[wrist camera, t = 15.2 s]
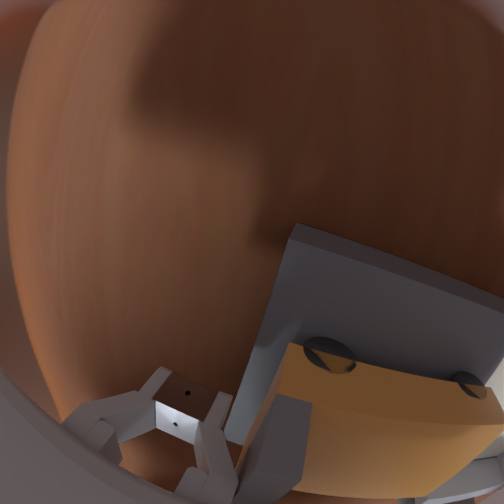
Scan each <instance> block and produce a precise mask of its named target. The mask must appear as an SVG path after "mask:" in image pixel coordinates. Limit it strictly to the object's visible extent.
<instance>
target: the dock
mask: <svg viewBox="0 0 504 504" xmlns="http://www.w3.org/2000/svg"><path fill="white" fill-rule="evenodd" d="M312 337H327V338H331V339H334V340H336V341H338V342H340V343H342V344H344V345H345V346H346V347H348V348H349V349H350V350H351V351H352V352H353V354H354V355H355V357H356V361H357V362H361V363H365V364H369V365H373V366H377V367H381V368H386V369H390V370H395V371H399V372H404V373H408V374H413V375H418V376H423V377H428V378H433V379H439V380H445V381H450V382H451V381H452V380H453V378H454V377H455V375H456V374H457V373H458V372H459V371H466V372H469V373H471V374H473V375H475V376H476V377H477V378H479V379H480V380H481V382H482V383H483V384H484V386H485V387H491V388H492V390H493V392H494V394H495V396H496V397H497V399H498V401H499V403H500V405H501V407H502V409H503V411H504V299H503V298H500V297H498V296H496V295H493V294H491V293H489V292H486V291H484V290H482V289H479V288H477V287H474V286H472V285H470V284H467V283H465V282H462V281H460V280H457V279H455V278H452V277H450V276H447V275H445V274H442V273H440V272H437V271H434V270H432V269H429V268H427V267H424V266H421V265H419V264H416V263H413V262H411V261H408V260H405V259H403V258H400V257H397V256H394V255H392V254H389V253H386V252H383V251H380V250H378V249H375V248H372V247H369V246H366V245H363V244H360V243H358V242H355V241H352V240H349V239H346V238H343V237H340V236H337V235H334V234H331V233H328V232H325V231H322V230H319V229H315V228H312V227H309V226H306V225H303V224H300V223H297V222H296V224H295V226H294V228H293V230H292V232H291V234H290V236H289V238H288V241H287V245H286V248H285V251H284V255H283V258H282V261H281V264H280V268H279V271H278V274H277V277H276V280H275V283H274V287H273V290H272V293H271V296H270V299H269V302H268V305H267V308H266V312H265V315H264V318H263V321H262V324H261V327H260V330H259V333H258V336H257V339H256V342H255V345H254V348H253V351H252V353H251V356H250V359H249V362H248V365H247V368H246V371H245V374H244V377H243V379H242V382H241V385H240V388H239V391H238V394H237V396H236V399H235V402H234V405H233V407H232V410H231V413H230V416H229V418H228V421H227V424H226V426H225V429H224V432H223V434H224V437H225V440H227V441H230V442H233V443H236V444H239V445H242V446H243V445H244V443H245V440H246V437H247V434H248V432H249V430H250V428H251V426H252V424H253V422H254V420H255V418H256V416H257V414H258V411H259V409H260V407H261V405H262V403H263V401H264V399H265V397H266V394H267V392H268V390H269V388H270V386H271V383H272V381H273V379H274V377H275V374H276V372H277V370H278V368H279V365H280V363H281V361H282V358H283V356H284V353H285V351H286V349H287V346H288V344H289V342H291V343H294V344H297V345H301V346H303V345H304V343H305V342H306V341H307V340H308V339H310V338H312ZM503 487H504V431H503V432H502V433H501V434H500V435H499V436H498V437H497V438H496V439H495V440H494V441H493V442H492V443H491V444H490V445H489V446H488V447H487V448H486V449H485V450H484V451H482V452H481V453H480V454H479V455H478V456H477V457H476V458H475V459H474V460H472V461H471V462H470V463H469V464H468V465H467V466H465V467H464V468H463V469H462V470H461V471H459V472H458V473H457V474H456V475H454V476H453V477H452V478H450V479H449V480H448V481H446V482H445V483H444V484H442V485H441V486H439V487H438V488H437V489H435V490H434V491H432V492H431V493H429V494H428V495H426V496H425V497H415V504H444V503H450V502H455V501H460V500H464V499H468V498H472V497H476V496H480V495H484V494H487V493H490V492H494V491H497V490H500V489H502V488H503Z"/></svg>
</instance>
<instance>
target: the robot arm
mask: <svg viewBox="0 0 504 504" xmlns="http://www.w3.org/2000/svg"><path fill="white" fill-rule="evenodd" d="M232 398H233V396H232V395H229V394H226V393H224V392H221V391H219V390H216V389H213V388H211V387H208V386H206V385H203V384H200V383H198V382H194V381H192V380H190V379H188V378H186V377H184V376H181V375H179V374H177V373H175V372H173V371H171V370H169V369H167V368H164V367H162V366H161V367H159V368H158V369H157V370H156V371H155V372H154V374H153V375H152V376H151V377H150V378H149V380H148V381H147V382H146V383H145V384H144V386H143V387H142V388H141V389H140V390H139V391H138V392H137V391H135V390H134V391H130V392H127V393H123V394H119V395H115V396H112V397H108V398H104V399H99V400H95V401H91V402H86V403H82V404H80V405H79V406H78V407H77V408H76V409H75V410H74V411H73V412H72V413H71V414H70V415H69V416H68V417H67V418H66V419H65V420H64V421H63V422H62V423H61V424H59V423H58V422H57V421H56V420H55V419H53V418H52V417H51V416H50V415H49V414H48V413H46V412H45V411H44V410H43V409H42V408H41V407H40V406H38V405H37V403H36V402H34V401H33V400H32V399H31V398H30V397H29V396H28V395H27V394H26V393H25V392H24V391H23V390H22V389H21V388H20V387H19V386H18V385H17V383H15V381H14V380H13V379H12V378H11V377H10V376H9V375H8V374H7V373H6V371H5V370H4V369H3V368H2V367H1V366H0V504H231V502H232V499H233V496H234V494H235V491H236V488H237V486H238V483H239V481H238V478H237V475H236V472H235V469H234V466H233V463H232V460H231V457H230V453H229V450H228V447H227V444H226V440H225V437H224V434H223V430H222V429H221V428H222V426H223V424H224V421H225V418H226V416H227V413H228V410H229V407H230V404H231V401H232ZM155 428H158V429H160V430H162V431H164V432H166V433H169V434H171V435H173V436H175V437H177V438H180V439H182V440H184V441H186V442H188V443H191V444H193V445H194V452H195V457H196V463H197V468H195V467H193V466H192V467H189V468H187V470H186V472H185V473H184V475H183V477H182V479H181V481H180V482H179V484H178V486H177V488H176V490H175V491H174V493H172V492H170V491H168V490H165V489H163V488H161V487H159V486H157V485H155V484H153V483H151V482H149V481H147V480H145V479H143V478H141V477H139V476H137V475H135V474H133V473H132V472H130V471H128V470H126V469H124V468H123V467H121V466H119V463H120V462H121V461H122V459H123V458H122V455H121V451H120V448H119V444H120V443H123V442H125V441H127V440H130V439H132V438H135V437H137V436H139V435H142V434H144V433H146V432H148V431H151V430H153V429H155Z"/></svg>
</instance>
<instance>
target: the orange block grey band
mask: <svg viewBox="0 0 504 504" xmlns="http://www.w3.org/2000/svg"><path fill="white" fill-rule="evenodd" d="M503 431H504V411H503V409H502V407H501V405H500V403H499V401H498V399H497V397H496V396H495V394H494V392H493V390H492V388H491V387H485V386H484V384H483V383H482V382H481V380H480V379H479V378H477V377H476V376H475V375H473V374H471V373H469V372H466V371H459V372H458V373H457V374H456V375H455V377H454V378H453V380H452V381H451V382H450V381H445V380H439V379H433V378H428V377H423V376H418V375H413V374H408V373H404V372H399V371H395V370H390V369H386V368H381V367H377V366H373V365H369V364H365V363H361V362H357V361H356V357H355V355H354V354H353V352H352V351H351V350H350V349H349V348H348V347H346V346H345V345H344V344H342V343H340V342H338V341H336V340H334V339H331V338H327V337H312V338H310V339H308V340H307V341H306V342H305V343H304V345H303V346H301V345H297V344H294V343H291V342H289V344H288V346H287V349H286V351H285V353H284V356H283V358H282V361H281V363H280V365H279V368H278V370H277V372H276V374H275V377H274V379H273V381H272V383H271V386H270V388H269V390H268V392H267V394H266V397H265V399H264V401H263V403H262V405H261V407H260V409H259V411H258V414H257V416H256V418H255V420H254V422H253V424H252V426H251V428H250V430H249V432H248V434H247V437H246V440H245V443H244V445H243V448H242V451H241V454H240V456H239V459H238V462H237V465H236V467H235V472H236V475H237V478H238V481H239V483H238V486H237V488H236V491H235V494H234V496H233V499H232V502H231V504H274V503H275V502H277V501H278V500H279V499H280V498H282V497H283V496H284V495H285V494H286V493H288V492H289V491H290V490H296V491H301V492H307V493H314V494H321V495H329V496H339V497H351V498H374V499H391V498H413V497H425V496H426V495H428V494H429V493H431V492H432V491H434V490H435V489H437V488H438V487H439V486H441V485H442V484H444V483H445V482H446V481H448V480H449V479H450V478H452V477H453V476H454V475H456V474H457V473H458V472H459V471H461V470H462V469H463V468H464V467H465V466H467V465H468V464H469V463H470V462H471V461H472V460H474V459H475V458H476V457H477V456H478V455H479V454H480V453H481V452H482V451H484V450H485V449H486V448H487V447H488V446H489V445H490V444H491V443H492V442H493V441H494V440H495V439H496V438H497V437H498V436H499V435H500V434H501V433H502V432H503Z"/></svg>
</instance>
